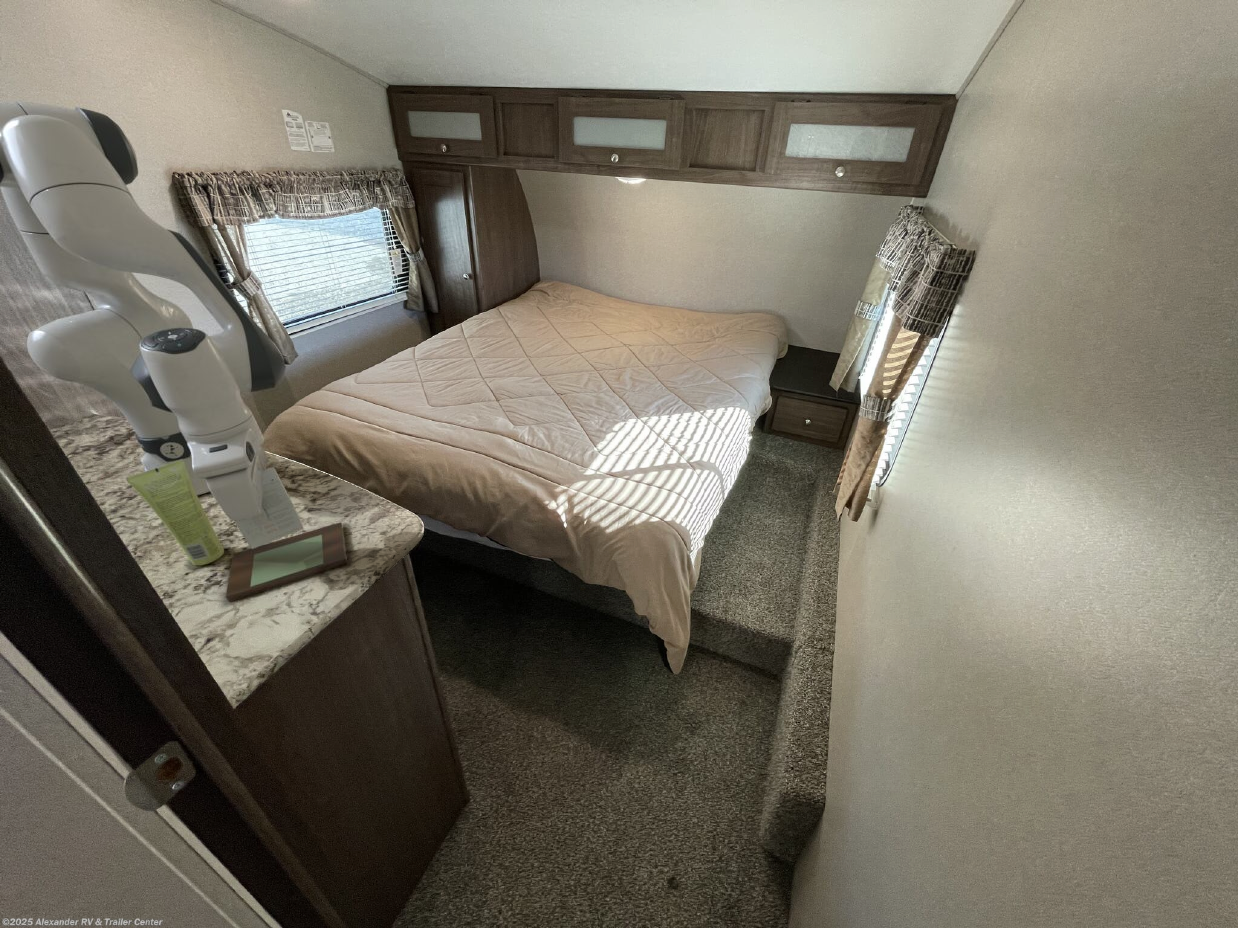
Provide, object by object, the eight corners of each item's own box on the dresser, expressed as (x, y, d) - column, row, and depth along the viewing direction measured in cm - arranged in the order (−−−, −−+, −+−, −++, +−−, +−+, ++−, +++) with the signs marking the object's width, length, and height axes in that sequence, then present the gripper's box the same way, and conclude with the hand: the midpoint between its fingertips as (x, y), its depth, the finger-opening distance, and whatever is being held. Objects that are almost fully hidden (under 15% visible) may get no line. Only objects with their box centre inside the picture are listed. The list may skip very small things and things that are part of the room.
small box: (298, 514, 88) (274, 465, 82) (304, 529, 84) (280, 479, 79) (246, 533, 84) (217, 483, 78) (250, 550, 80) (220, 499, 75)
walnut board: (235, 558, 90) (232, 553, 89) (343, 526, 97) (341, 521, 96) (228, 602, 81) (225, 596, 80) (347, 563, 88) (345, 558, 87)
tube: (206, 546, 93) (152, 459, 82) (233, 545, 93) (182, 458, 83) (185, 567, 88) (124, 477, 78) (213, 566, 88) (156, 476, 78)
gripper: (210, 417, 81) (247, 485, 88) (190, 475, 66) (236, 552, 73) (255, 408, 83) (287, 475, 91) (245, 462, 68) (284, 538, 75)
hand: (264, 510), depth 82 cm, fingers closed on small box, 6 cm apart
